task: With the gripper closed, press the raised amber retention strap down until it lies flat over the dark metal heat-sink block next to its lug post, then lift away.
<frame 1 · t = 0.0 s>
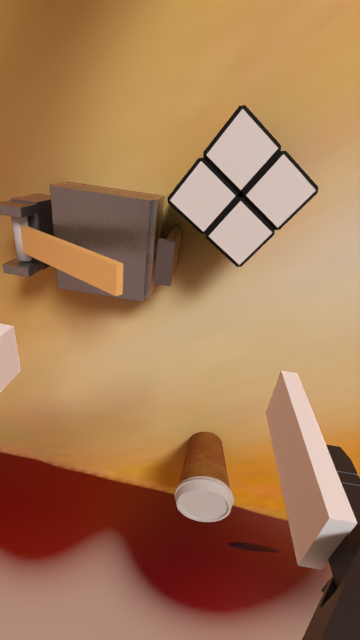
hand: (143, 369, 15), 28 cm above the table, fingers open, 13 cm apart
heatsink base: (90, 233, 40), on the table
disposable coffee cup: (205, 442, 57), on the table
puzzle cube: (234, 188, 36), on the table
strap: (62, 255, 30), point 11 cm above the table, hinge at 30.0°
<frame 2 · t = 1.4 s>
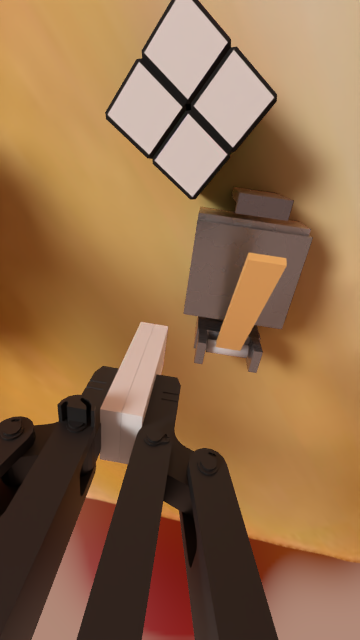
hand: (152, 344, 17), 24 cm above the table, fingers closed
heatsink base: (232, 287, 40), on the table
puzzle cube: (194, 122, 32), on the table
strap: (241, 316, 30), point 11 cm above the table, hinge at 30.0°
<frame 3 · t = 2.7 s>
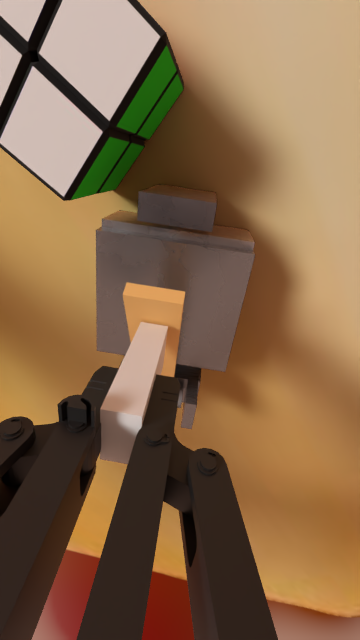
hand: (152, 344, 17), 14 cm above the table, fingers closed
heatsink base: (171, 311, 32), on the table
puzzle cube: (99, 96, 24), on the table
strap: (155, 362, 22), point 11 cm above the table, hinge at 29.4°, touching gripper
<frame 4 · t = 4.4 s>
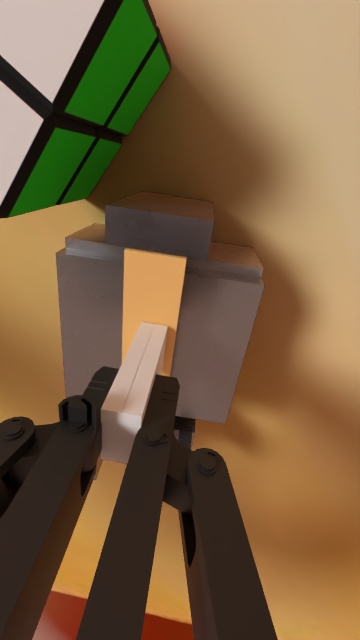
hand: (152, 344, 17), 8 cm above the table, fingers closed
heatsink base: (160, 343, 26), on the table
puzzle cube: (63, 79, 18), on the table
strap: (146, 378, 19), point 8 cm above the table, hinge at 3.9°, touching gripper
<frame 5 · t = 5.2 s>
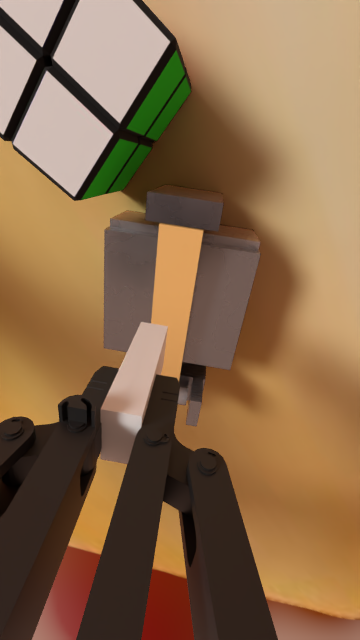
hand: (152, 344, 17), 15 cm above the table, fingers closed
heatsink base: (177, 310, 32), on the table
puzzle cube: (108, 99, 24), on the table
strap: (169, 327, 24), point 8 cm above the table, hinge at 3.9°
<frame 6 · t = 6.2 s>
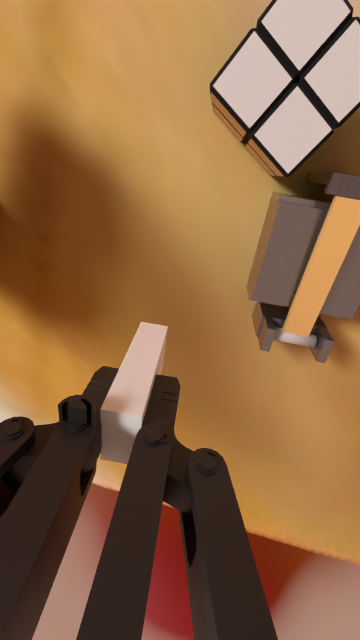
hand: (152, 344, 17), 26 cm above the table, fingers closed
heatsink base: (295, 276, 39), on the table
puzzle cube: (277, 104, 32), on the table
strap: (317, 280, 32), point 8 cm above the table, hinge at 3.9°
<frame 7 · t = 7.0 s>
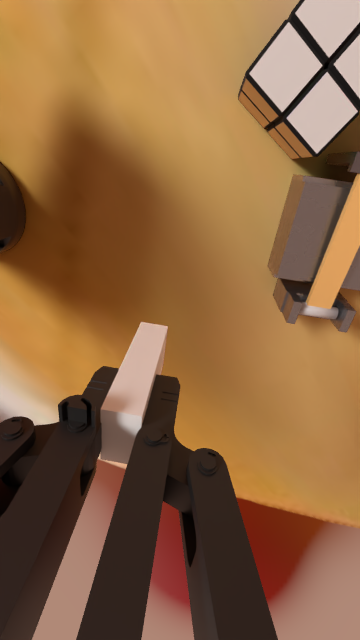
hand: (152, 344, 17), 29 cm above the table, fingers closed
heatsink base: (314, 254, 42), on the table
puzzle cube: (298, 91, 34), on the table
strap: (339, 254, 34), point 8 cm above the table, hinge at 3.9°
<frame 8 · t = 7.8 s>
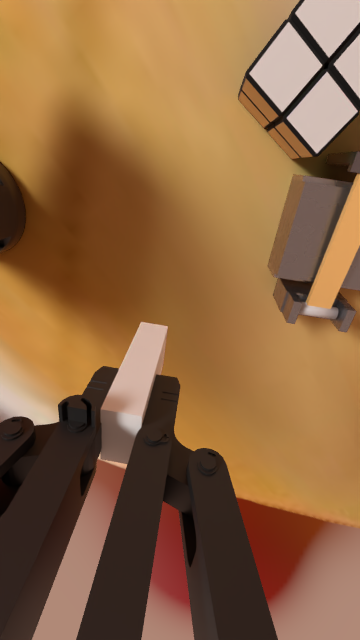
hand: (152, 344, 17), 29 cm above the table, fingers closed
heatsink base: (314, 254, 42), on the table
puzzle cube: (298, 91, 34), on the table
strap: (339, 254, 34), point 8 cm above the table, hinge at 3.9°
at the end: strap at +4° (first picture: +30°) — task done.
